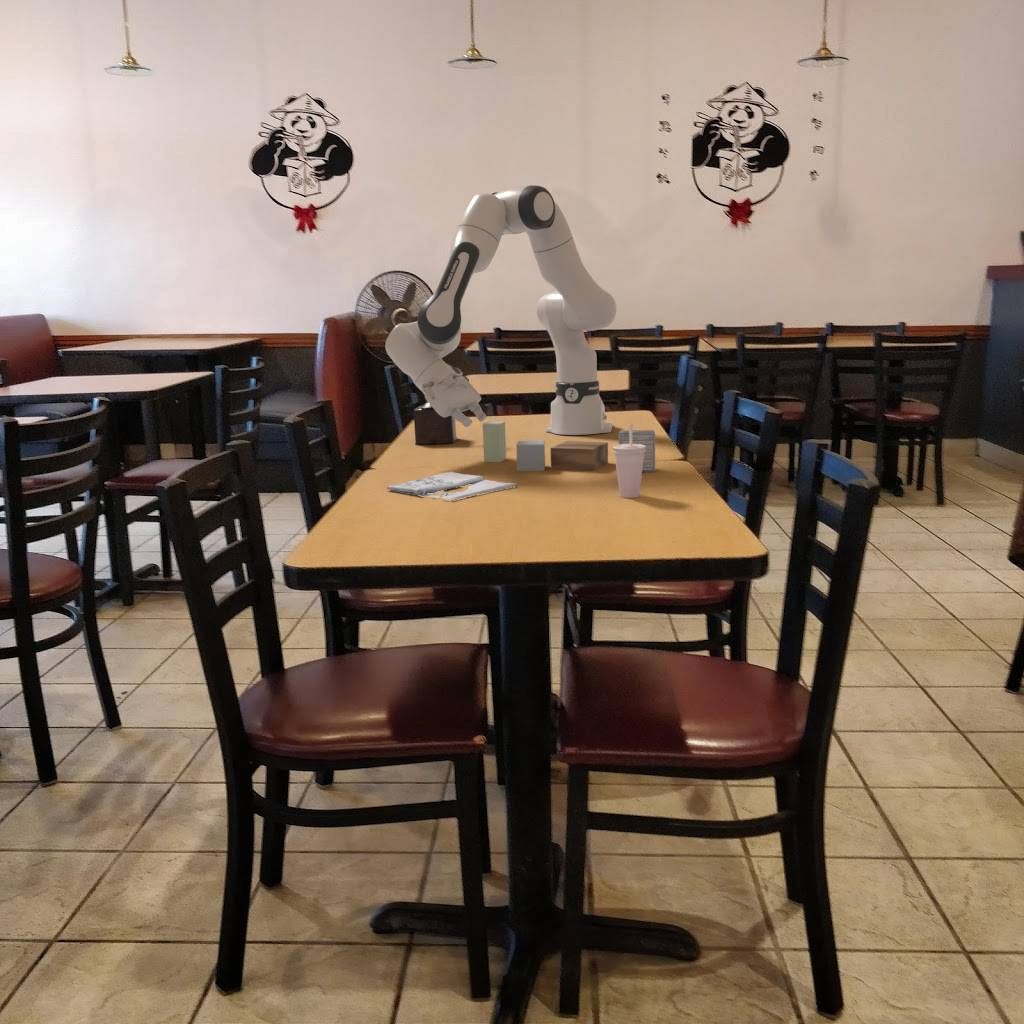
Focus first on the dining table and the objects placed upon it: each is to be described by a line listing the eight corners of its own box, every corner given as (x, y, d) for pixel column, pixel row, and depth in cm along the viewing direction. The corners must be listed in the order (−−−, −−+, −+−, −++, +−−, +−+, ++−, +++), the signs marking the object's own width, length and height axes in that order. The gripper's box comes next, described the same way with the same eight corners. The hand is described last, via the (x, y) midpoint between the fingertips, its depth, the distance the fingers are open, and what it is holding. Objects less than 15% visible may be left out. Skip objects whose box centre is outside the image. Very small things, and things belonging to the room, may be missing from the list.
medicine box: (654, 468, 211) (654, 429, 209) (655, 472, 206) (655, 432, 204) (618, 469, 212) (618, 430, 210) (618, 472, 207) (618, 433, 205)
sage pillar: (490, 458, 231) (489, 421, 229) (506, 458, 229) (504, 421, 227) (484, 461, 227) (482, 424, 225) (499, 462, 225) (498, 424, 223)
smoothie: (625, 500, 180) (624, 427, 176) (606, 495, 185) (605, 423, 182) (653, 496, 182) (653, 423, 179) (633, 491, 188) (633, 420, 185)
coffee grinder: (413, 445, 255) (409, 377, 251) (420, 439, 266) (416, 374, 262) (471, 444, 254) (468, 376, 250) (475, 437, 265) (472, 372, 260)
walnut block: (567, 462, 224) (567, 441, 223) (608, 463, 220) (607, 442, 218) (551, 469, 215) (550, 447, 214) (592, 471, 211) (592, 449, 210)
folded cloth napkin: (454, 479, 210) (454, 469, 209) (519, 490, 196) (519, 479, 195) (385, 493, 197) (384, 483, 197) (449, 506, 183) (448, 495, 182)
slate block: (519, 466, 219) (518, 440, 218) (545, 466, 219) (544, 440, 217) (517, 471, 213) (516, 445, 212) (544, 471, 213) (543, 444, 211)
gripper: (427, 375, 218) (469, 418, 217) (461, 367, 236) (499, 407, 235) (410, 395, 220) (452, 437, 219) (445, 386, 239) (483, 425, 238)
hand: (477, 422), depth 227 cm, fingers open, 8 cm apart
